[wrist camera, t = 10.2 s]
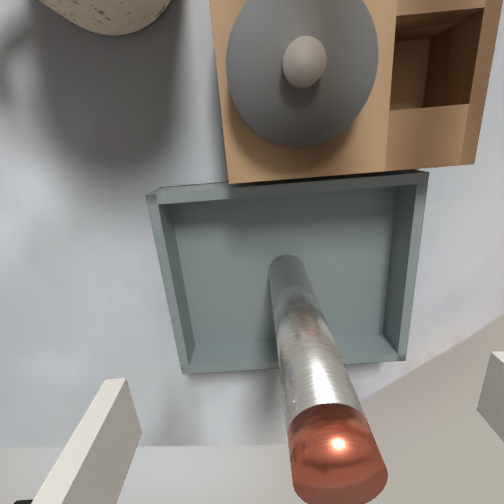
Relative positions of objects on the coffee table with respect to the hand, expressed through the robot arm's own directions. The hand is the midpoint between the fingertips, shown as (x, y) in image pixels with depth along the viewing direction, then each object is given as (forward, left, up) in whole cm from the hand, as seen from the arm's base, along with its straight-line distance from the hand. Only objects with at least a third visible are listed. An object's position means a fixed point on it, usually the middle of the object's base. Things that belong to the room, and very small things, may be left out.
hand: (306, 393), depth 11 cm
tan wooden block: (+3, +11, -12) cm, 17 cm away
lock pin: (0, 0, -11) cm, 11 cm away
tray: (0, 0, -12) cm, 12 cm away
